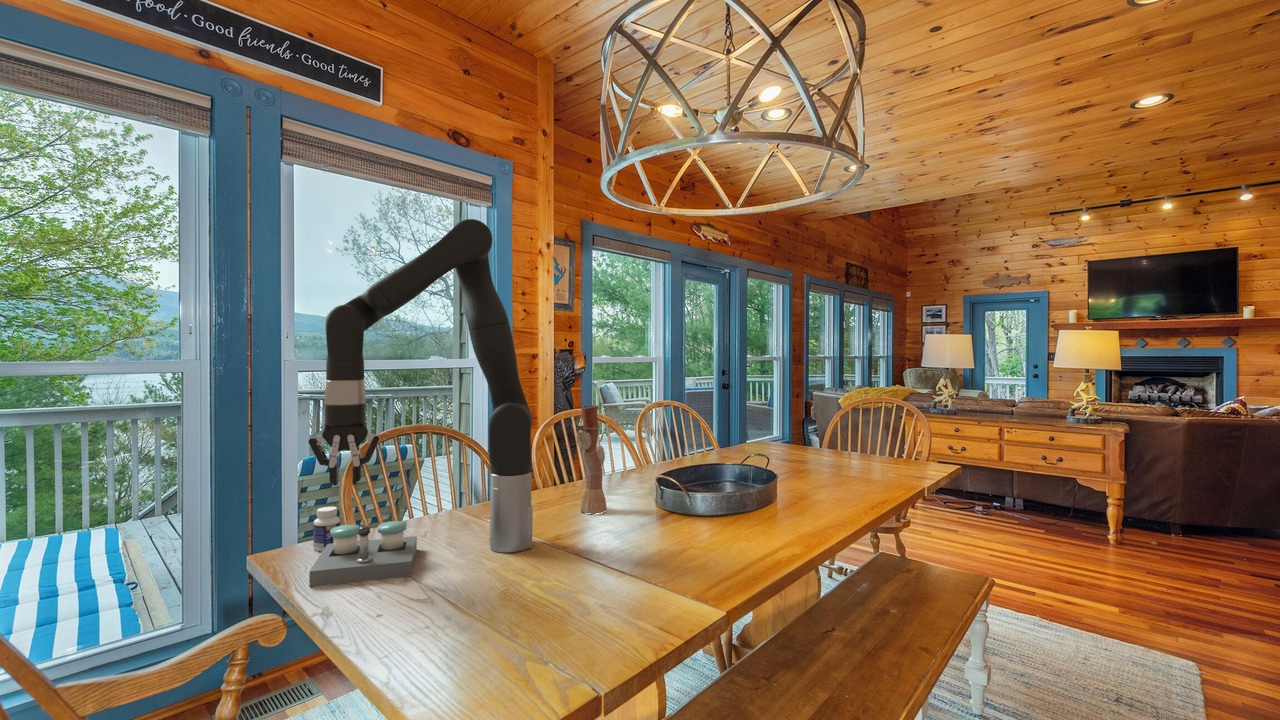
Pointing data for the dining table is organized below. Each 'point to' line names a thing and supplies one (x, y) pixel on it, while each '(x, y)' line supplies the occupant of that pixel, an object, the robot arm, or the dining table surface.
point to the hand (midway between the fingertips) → (345, 483)
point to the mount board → (363, 564)
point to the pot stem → (364, 544)
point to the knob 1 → (345, 538)
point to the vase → (591, 461)
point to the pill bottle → (324, 527)
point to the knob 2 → (392, 534)
